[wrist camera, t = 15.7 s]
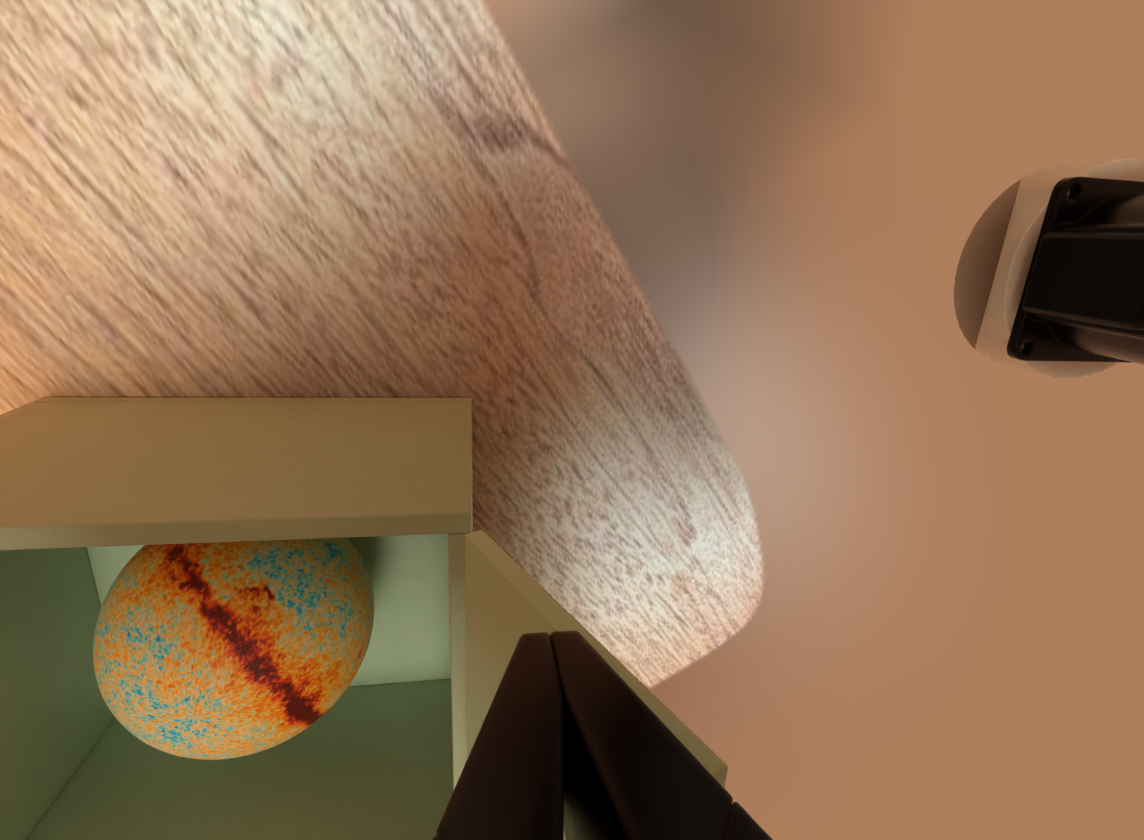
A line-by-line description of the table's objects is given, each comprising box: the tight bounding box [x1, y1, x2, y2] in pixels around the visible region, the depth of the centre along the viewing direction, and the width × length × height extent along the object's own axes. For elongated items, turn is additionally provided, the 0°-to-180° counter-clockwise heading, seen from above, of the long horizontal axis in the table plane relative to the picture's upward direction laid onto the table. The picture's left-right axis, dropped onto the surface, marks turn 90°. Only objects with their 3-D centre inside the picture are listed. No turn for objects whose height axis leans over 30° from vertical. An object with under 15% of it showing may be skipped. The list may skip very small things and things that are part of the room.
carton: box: [0, 397, 473, 840], centre depth 17 cm, size 13×12×8 cm
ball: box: [93, 538, 374, 760], centre depth 17 cm, size 7×7×7 cm
